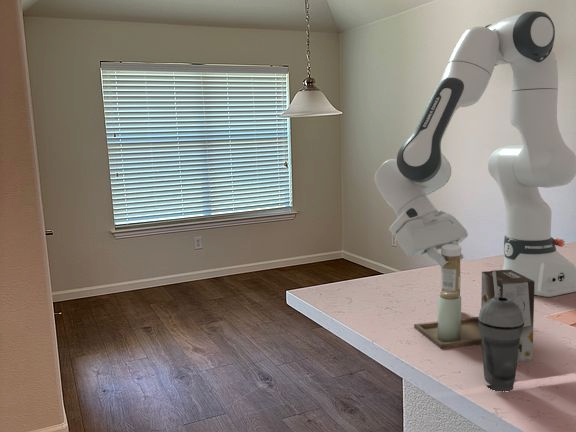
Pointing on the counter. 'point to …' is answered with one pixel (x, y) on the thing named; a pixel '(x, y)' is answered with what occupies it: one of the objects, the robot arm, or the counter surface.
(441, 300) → the jar
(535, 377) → the counter surface
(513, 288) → the coffee box
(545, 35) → the robot arm
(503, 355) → the beverage cup
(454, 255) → the sprinkles bottle
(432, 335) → the tray
